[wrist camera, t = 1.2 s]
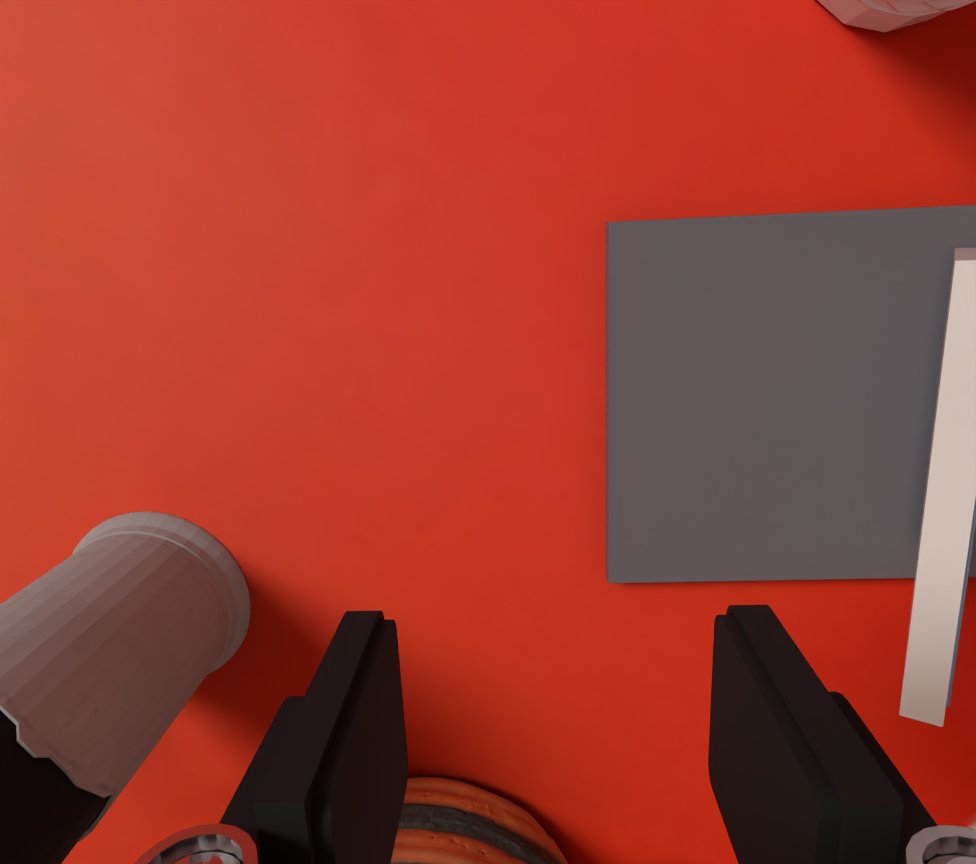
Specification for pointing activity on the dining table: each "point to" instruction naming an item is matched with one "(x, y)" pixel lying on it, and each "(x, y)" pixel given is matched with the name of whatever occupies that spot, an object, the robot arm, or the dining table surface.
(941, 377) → the tile
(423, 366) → the dining table surface
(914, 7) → the white cup
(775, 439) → the base
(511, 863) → the beer stein
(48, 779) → the glass holder
